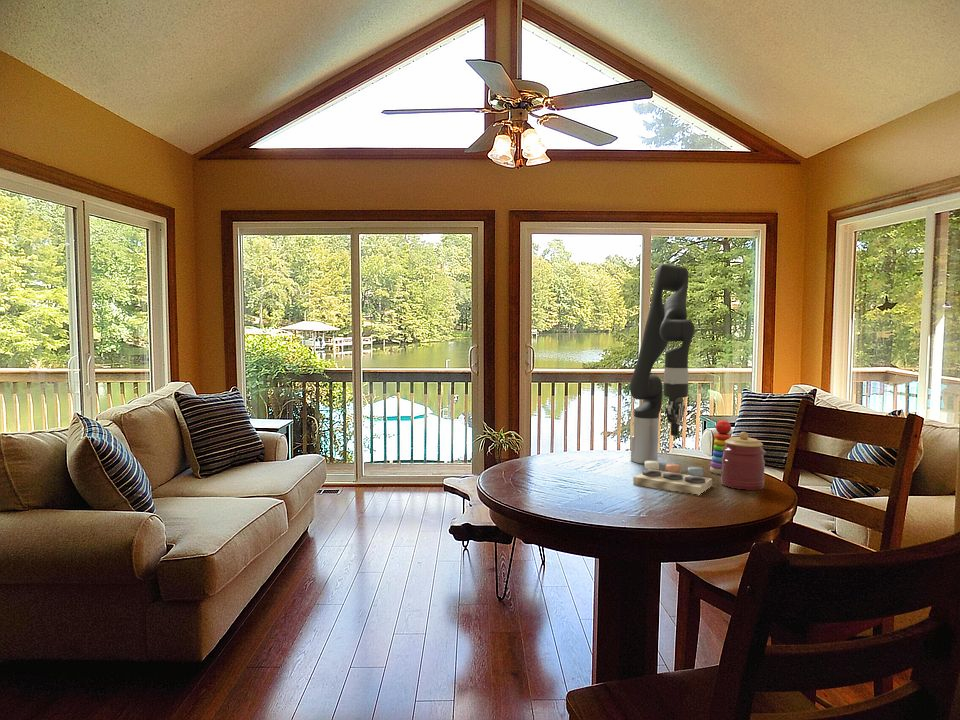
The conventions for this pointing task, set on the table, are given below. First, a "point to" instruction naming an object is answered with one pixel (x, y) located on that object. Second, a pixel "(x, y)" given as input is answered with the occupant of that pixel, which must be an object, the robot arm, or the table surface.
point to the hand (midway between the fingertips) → (674, 435)
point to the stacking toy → (719, 445)
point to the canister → (743, 463)
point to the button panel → (672, 481)
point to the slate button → (695, 471)
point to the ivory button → (652, 465)
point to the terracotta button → (673, 468)
